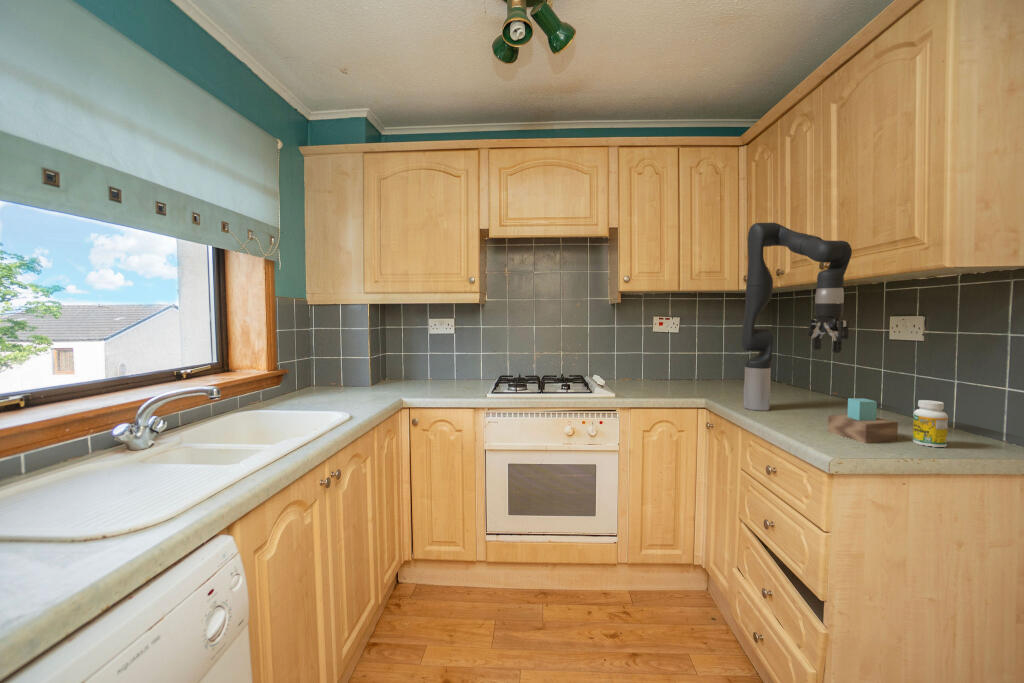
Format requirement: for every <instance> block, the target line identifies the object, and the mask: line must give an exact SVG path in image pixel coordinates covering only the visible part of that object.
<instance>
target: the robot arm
mask: <svg viewBox="0 0 1024 683" xmlns="http://www.w3.org/2000/svg"><path fill="white" fill-rule="evenodd" d="M773 246H777V247H785V248H787V249H788V250H789V251H790V252H792V253H794V254H798V255H800V256H804V257H807V258H809V259H810V260H812V261H814V262H816V263H817V262H818V263H822V264H824V263H827V264H829V265H828V267H827V269H824V270H822V271H819V272H817V273H818V274H817V276H816V291H815V297H814V299H815V300H814V317H817V318H811V319H808V320H809V321H808V322H809V323H808V331H807V336H808V337H811V339H812V349H813V350H814V351H815V350H816V351H817V350H818V351H819V350H821V348H822V347H821V346H822V337H823V335H825V334H828V335H829V336H831V338H832V340H833V341H832V349H831V350H832V353H836V354H837V353H842V352H841V351H842V347H843V346H842V344H843V341H844V340H848V339H849V320H841V319H840V318H841V317H843V315H844V301H845V300H844V299H845V293H844V292H845V291H844V284H845V283H844V280H845V274H846V271H847V268H848V267H849V264H850V261H851V258H852V253H853V249H852V246H851V245H850V243H849V242H848V241H846V240H825V239H823V238H821V237H819V236H816V235H812V234H808V233H803V232H798V231H796V230H792V229H790V228H787V227H786V226H784V225H782V224H781V223H777V222H755V223H753V224H752V225H751V226H750V227H749V230H748V233H747V275H746V276H747V277H746V288H745V306H744V307H745V308H744V315H743V317H744V318H743V322H742V327H741V328H742V329H741V336H740V343H741V344H740V346H741V348H742V350H743V351H746V352H758V354H757V355H755V356H753V357H751V358H747V359H746V360H745V362H744V384H743V408H744V409H748V410H750V411H751V410H752V411H769V410H770V408H771V407H770V406H771V405H770V404H771V402H770V401H771V368H772V367H771V364H772V361H773V347H774V336H773V334H774V333H773V332H772V330H771V329H770V328H755V325H756V322H757V319H758V317H759V315H760V314H761V313H762V311H763V310H764V309H765V307H767V305H768V303H770V301H771V299H772V297H773V290H774V289H773V287H774V279H773V276H772V274H771V272H770V270H769V268H768V266H767V264H766V262H765V258H764V248H765V247H766V248H768V247H773Z"/></svg>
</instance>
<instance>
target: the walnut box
mask: <svg viewBox="0 0 1024 683" xmlns="http://www.w3.org/2000/svg"><path fill="white" fill-rule="evenodd" d="M847 415H848V413H847V414H836V415H834V414H833V415H828V417H827V420H828V424H827V433H828V432H830V433H829V434H831V433H834V434H837V435H836V436H838V435H840V436H839V437H841V436H843V437H842V438H845V437H847V438H846V439H848V438H850V439H849V440H852V439H853V440H852V441H855V440H856V442H859V441H860V442H859V443H862V442H864V443H863V444H873V443H872V442H876V443H883V442H882V441H887V442H893V441H892V440H897V441H898V429H899V428H898V427H899V423H898V422H897V421H893V420H889V419H885V418H880V417H876V421H859V420H856V419H853V418H850V417H847ZM834 434H833V435H834Z"/></svg>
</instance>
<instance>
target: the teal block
mask: <svg viewBox="0 0 1024 683" xmlns="http://www.w3.org/2000/svg"><path fill="white" fill-rule="evenodd" d="M877 403H878V402H877V401H876V400H873V399H868V398H864V397H863V398H859V397H857V398H856V397H855V398H854V397H853V398H851V397H850V398H847V414H848V415H847V417H850V418H853V419H856V420H859V421H876V418H877V408H878V406H877Z"/></svg>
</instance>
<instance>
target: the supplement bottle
mask: <svg viewBox="0 0 1024 683" xmlns="http://www.w3.org/2000/svg"><path fill="white" fill-rule="evenodd" d="M944 403H945V402H943V401H938V400H937V401H936V400H927V399H919V400H918V402H917V406H918V407H919V408H917V409H915V410H914V411H913V417H912V418H913V420H912V421H913V425H912V427H913V428H912V441H913V443H914V444H916V445H918V444H919V446H922V445H925V446H924V447H928V446H932V447H931V448H935V447H944V448H946V447H947V445H948V444H947V443H948V425H949V415H948V413H946V412H944V411H943V410H944V408H945V404H944Z"/></svg>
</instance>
